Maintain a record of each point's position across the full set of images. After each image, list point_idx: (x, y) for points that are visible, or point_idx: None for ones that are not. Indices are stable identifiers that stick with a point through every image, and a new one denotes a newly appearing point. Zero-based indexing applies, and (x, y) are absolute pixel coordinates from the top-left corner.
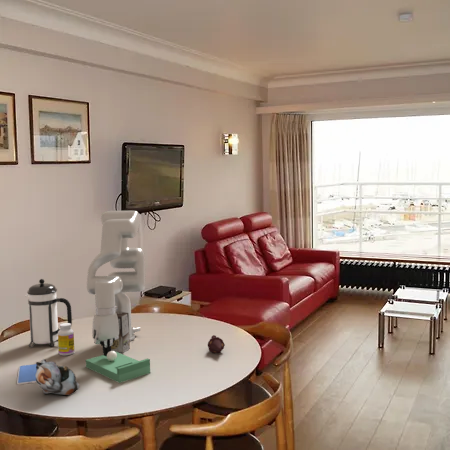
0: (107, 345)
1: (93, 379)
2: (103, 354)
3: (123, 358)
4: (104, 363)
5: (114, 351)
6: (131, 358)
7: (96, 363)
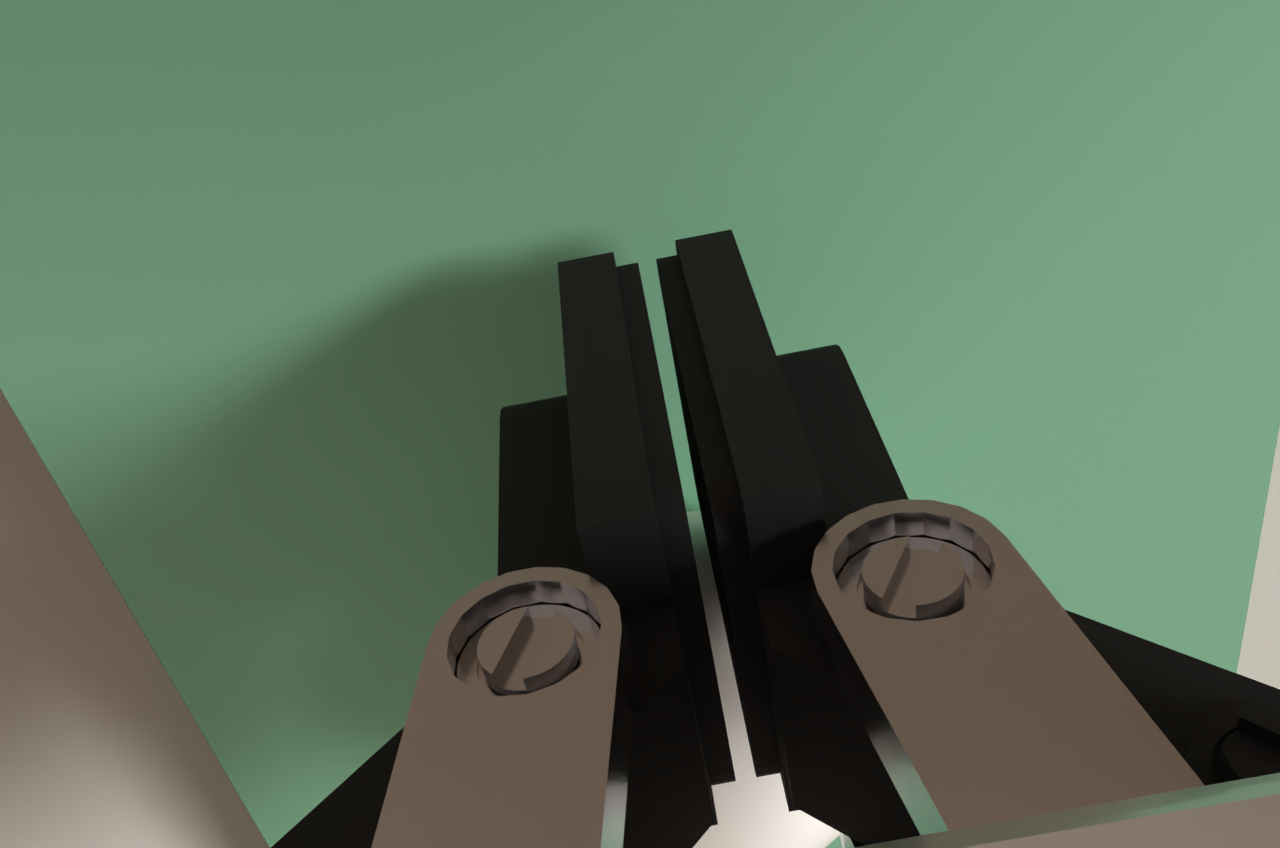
0: (770, 688)
1: (50, 789)
2: (559, 267)
3: (1059, 565)
4: (404, 652)
5: (836, 830)
6: (1213, 656)
7: (167, 545)
